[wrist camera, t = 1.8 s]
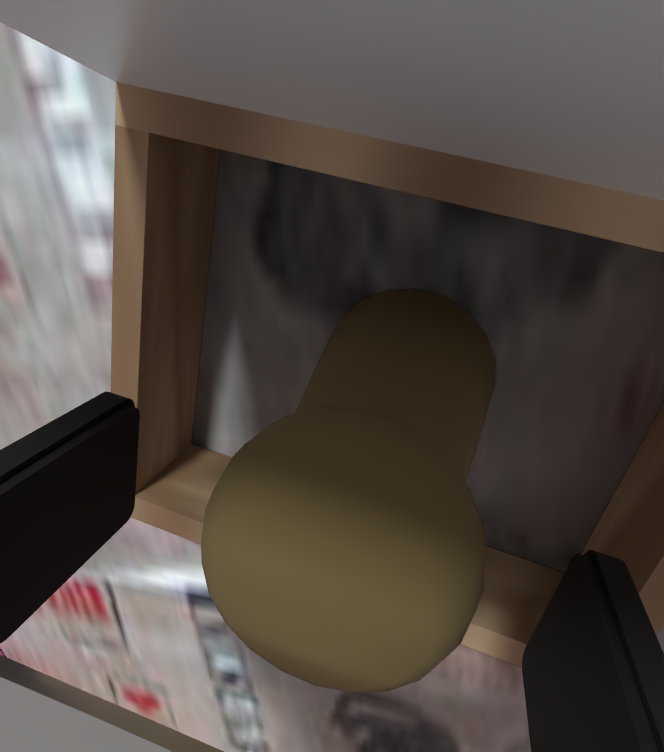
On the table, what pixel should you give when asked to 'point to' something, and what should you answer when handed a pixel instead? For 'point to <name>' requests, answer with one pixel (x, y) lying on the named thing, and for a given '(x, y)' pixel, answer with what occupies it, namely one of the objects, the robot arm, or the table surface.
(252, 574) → the yellow tapered piece
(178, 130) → the wooden box
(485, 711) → the table surface
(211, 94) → the lid
